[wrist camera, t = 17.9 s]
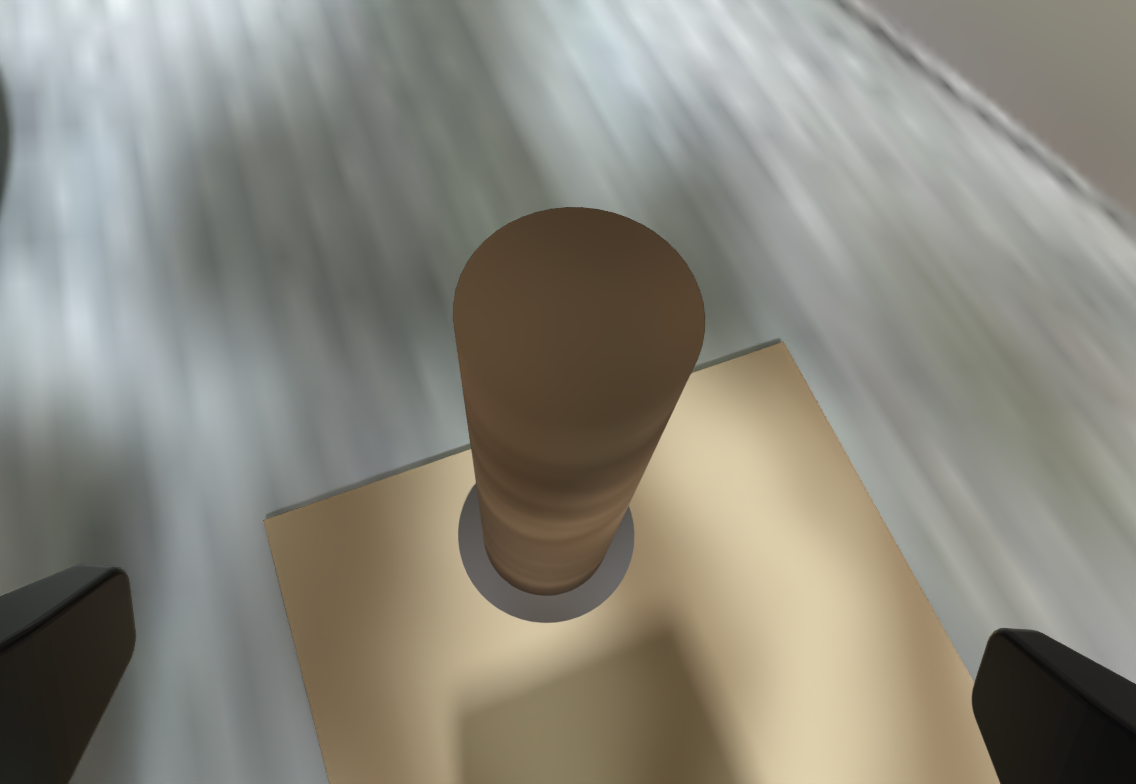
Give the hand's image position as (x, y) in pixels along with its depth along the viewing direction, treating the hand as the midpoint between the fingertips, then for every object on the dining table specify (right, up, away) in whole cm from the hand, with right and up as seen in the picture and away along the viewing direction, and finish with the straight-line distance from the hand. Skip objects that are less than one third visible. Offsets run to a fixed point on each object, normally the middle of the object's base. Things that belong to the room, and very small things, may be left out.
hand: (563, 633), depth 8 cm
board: (+3, -6, +12) cm, 13 cm away
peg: (-1, -1, +13) cm, 13 cm away
